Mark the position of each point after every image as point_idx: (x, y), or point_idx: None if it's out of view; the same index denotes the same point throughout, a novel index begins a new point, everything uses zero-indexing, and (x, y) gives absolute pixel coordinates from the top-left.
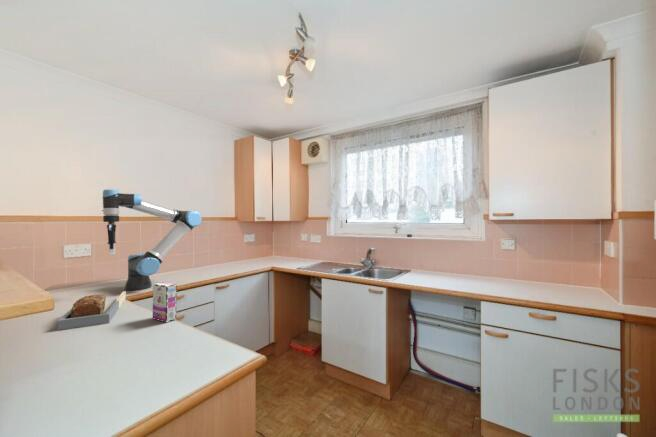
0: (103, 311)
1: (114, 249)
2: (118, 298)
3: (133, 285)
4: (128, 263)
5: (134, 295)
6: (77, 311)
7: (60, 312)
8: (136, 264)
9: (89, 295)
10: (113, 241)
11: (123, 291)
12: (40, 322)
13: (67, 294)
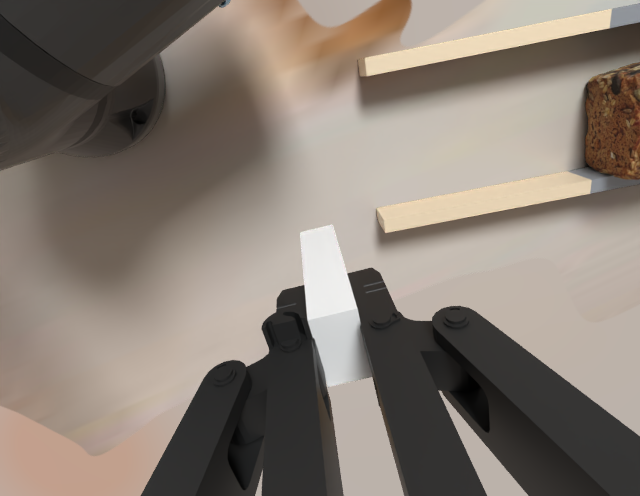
0: (637, 63)
1: (340, 255)
2: (553, 33)
3: (150, 82)
4: (7, 164)
5: (308, 25)
6: None
7: (509, 251)
8: (195, 4)
9: (399, 224)
10: (480, 318)
11: (368, 71)
12: (617, 250)
13: (191, 369)
